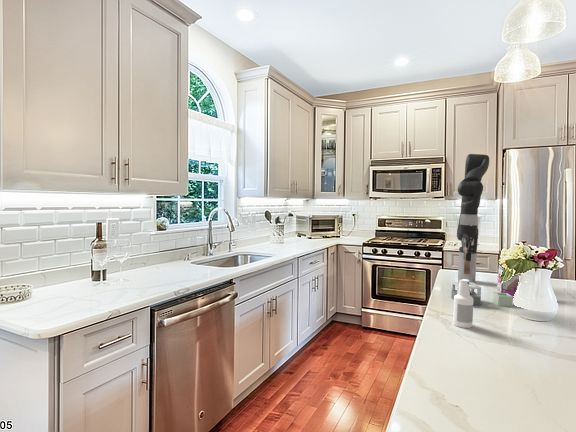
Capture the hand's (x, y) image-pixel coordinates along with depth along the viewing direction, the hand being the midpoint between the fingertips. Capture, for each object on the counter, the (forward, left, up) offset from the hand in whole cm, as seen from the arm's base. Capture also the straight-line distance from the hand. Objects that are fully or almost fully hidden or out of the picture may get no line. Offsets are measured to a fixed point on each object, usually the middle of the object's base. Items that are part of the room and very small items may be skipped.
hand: (467, 259), depth 169 cm
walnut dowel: (0, 0, -7) cm, 7 cm away
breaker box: (0, 0, -20) cm, 20 cm away
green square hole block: (+1, +16, -20) cm, 26 cm away
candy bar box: (-15, +26, -20) cm, 36 cm away
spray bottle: (+33, -11, -20) cm, 40 cm away
